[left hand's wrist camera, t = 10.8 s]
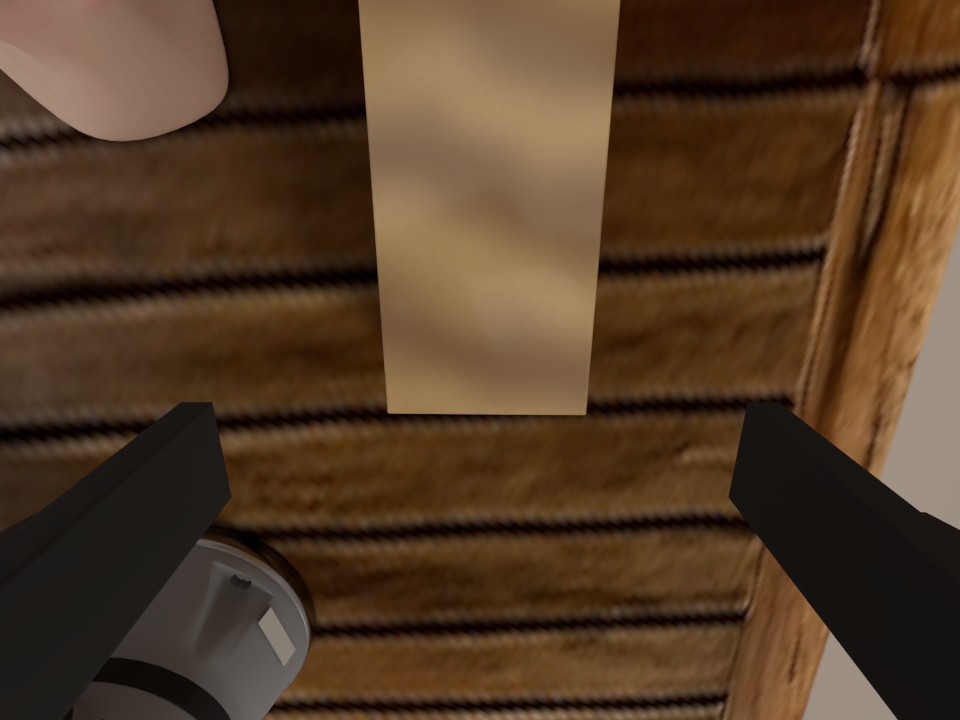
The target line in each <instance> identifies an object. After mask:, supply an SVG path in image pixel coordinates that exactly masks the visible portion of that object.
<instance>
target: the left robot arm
mask: <svg viewBox="0 0 960 720" xmlns="http://www.w3.org/2000/svg"><path fill="white" fill-rule="evenodd" d="M230 498H231V493H230V488H229V483H228V478H227V473H226V468H225V463H224V458H223V453H222V448H221V443H220V438H219V433H218V428H217V423H216V418H215V413H214V408H213V403H212V402H181V403H180V404H178V405H177V406H176V407H175V408H173V409H172V410H171V411H169V412H168V413H167V414H165V415H164V416H163V417H162V418H160V419H159V420H158V421H156V422H155V423H154V424H153V425H151V426H150V427H149V428H147V429H146V430H145V431H144V432H142V433H141V434H140V435H138V436H137V437H136V438H135V439H133V440H132V441H131V442H129V443H128V444H127V445H126V446H124V447H123V448H122V449H120V450H119V451H118V452H117V453H115V454H114V455H113V456H111V457H110V458H109V459H107V460H106V461H105V462H104V463H102V464H101V465H100V466H98V467H97V468H96V469H95V470H93V471H92V472H91V473H89V474H88V475H87V476H86V477H84V478H83V479H82V480H80V481H79V482H78V483H77V484H75V485H74V486H73V487H71V488H70V489H69V490H68V491H66V492H65V493H64V494H62V495H61V496H60V497H59V498H57V499H56V500H55V501H53V502H52V503H51V504H49V505H48V506H47V507H46V508H44V509H43V510H42V511H40V512H39V513H38V514H34V515H33V516H31V517H29V518H27V519H25V520H23V521H21V522H19V523H17V524H15V525H13V526H11V527H9V528H7V529H6V530H4V531H2V532H0V720H262V719H263V717H264V716H265V715H266V713H267V712H268V711H269V709H270V708H271V707H272V705H273V704H274V703H275V701H276V700H277V699H278V697H279V696H280V695H281V693H282V692H283V691H284V690H285V689H286V688H287V687H288V686H289V685H290V683H291V682H292V681H293V680H294V678H295V677H296V676H297V675H298V673H299V672H300V670H301V668H302V666H303V664H304V662H305V659H306V657H307V654H308V651H309V649H310V646H311V643H312V641H313V637H314V634H315V628H316V615H315V609H314V604H313V601H312V598H311V596H310V594H309V592H308V589H307V588H306V586H305V584H304V583H303V581H302V580H301V578H300V577H299V576H298V574H297V573H296V572H295V571H294V570H293V569H292V568H291V566H290V565H289V564H287V563H286V562H285V561H284V560H283V559H282V558H281V557H279V556H278V555H277V554H275V553H274V552H273V551H271V550H270V549H268V548H267V547H265V546H263V545H262V544H260V543H258V542H256V541H254V540H252V539H250V538H247V537H245V536H243V535H240V534H237V533H235V532H231V531H228V530H224V529H220V528H215V527H209V526H210V525H211V523H212V522H213V521H214V519H215V518H216V517H217V516H218V514H219V513H220V512H221V510H222V509H223V508H224V506H225V505H226V504H227V502H228V501H229V500H230ZM729 498H730V500H731V501H732V502H733V504H734V505H735V506H736V508H737V509H738V510H739V512H740V513H741V514H742V516H743V517H744V518H745V519H746V521H747V522H748V523H749V525H750V526H751V527H752V529H753V530H754V531H755V533H756V534H757V535H758V537H759V538H760V539H761V541H762V542H763V543H764V544H765V546H766V547H767V548H768V550H769V551H770V552H771V554H772V555H773V556H774V558H775V559H776V560H777V562H778V563H779V564H780V565H781V567H782V568H783V569H784V571H785V572H786V573H787V575H788V576H789V577H790V579H791V580H792V581H793V583H794V584H795V585H796V587H797V588H798V589H799V590H800V592H801V593H802V594H803V596H804V597H805V598H806V600H807V601H808V602H809V604H810V605H811V606H812V608H813V609H814V610H815V611H816V613H817V614H818V615H819V617H820V618H821V619H822V621H823V622H824V623H825V625H826V626H827V627H828V629H829V630H830V631H831V633H832V634H833V635H834V636H835V638H836V639H837V640H838V642H839V643H840V644H841V646H842V647H843V648H844V650H845V651H846V652H847V654H848V655H849V656H850V657H851V659H852V660H853V661H854V663H855V664H856V665H857V667H858V668H859V669H860V671H861V672H862V673H863V675H864V676H865V677H866V679H867V680H868V681H869V682H870V684H871V685H872V686H873V688H874V689H875V690H876V692H877V693H878V694H879V695H880V697H881V698H882V700H883V701H884V702H885V704H886V705H887V706H888V707H889V709H890V710H891V711H892V713H893V714H894V715H895V717H896V718H897V719H898V720H960V530H959V529H957V528H955V527H953V526H951V525H949V524H947V523H945V522H943V521H941V520H939V519H938V518H936V517H934V516H932V515H930V514H928V513H926V512H920V511H918V510H917V509H916V508H914V507H913V506H912V505H911V504H909V503H908V502H907V501H905V500H904V499H903V498H901V497H900V496H899V495H898V494H896V493H895V492H894V491H892V490H891V489H890V488H889V487H887V486H886V485H885V484H883V483H882V482H881V481H880V480H878V479H877V478H876V477H874V476H873V475H872V474H871V473H869V472H868V471H867V470H865V469H864V468H863V467H862V466H860V465H859V464H858V463H856V462H855V461H854V460H853V459H851V458H850V457H849V456H847V455H846V454H845V453H843V452H842V451H841V450H840V449H838V448H837V447H836V446H834V445H833V444H832V443H831V442H829V441H828V440H827V439H825V438H824V437H823V436H822V435H820V434H819V433H818V432H816V431H815V430H814V429H813V428H811V427H810V426H809V425H807V424H806V423H805V422H804V421H802V420H801V419H800V418H798V417H797V416H796V415H795V414H793V413H792V412H791V411H789V410H788V409H787V408H785V407H784V406H783V405H782V404H780V403H779V402H748V403H747V408H746V413H745V418H744V423H743V428H742V433H741V438H740V443H739V448H738V453H737V458H736V463H735V468H734V473H733V478H732V483H731V488H730V493H729Z"/></svg>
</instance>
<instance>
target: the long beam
mask: <svg viewBox="0 0 960 720" xmlns="http://www.w3.org/2000/svg"><path fill="white" fill-rule="evenodd" d="M358 3H359V17H360V31H361V45H362V59H363V73H364V87H365V101H366V115H367V129H368V143H369V157H370V171H371V185H372V199H373V213H374V227H375V241H376V255H377V269H378V284H379V298H380V312H381V326H382V340H383V354H384V368H385V382H386V396H387V410H388V413H404V414H521V415H586V408H587V396H588V383H589V371H590V359H591V347H592V335H593V323H594V311H595V299H596V287H597V275H598V263H599V251H600V239H601V227H602V215H603V203H604V191H605V179H606V167H607V155H608V143H609V131H610V119H611V107H612V95H613V83H614V70H615V58H616V46H617V34H618V22H619V10H620V0H358Z"/></svg>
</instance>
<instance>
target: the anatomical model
mask: <svg viewBox="0 0 960 720" xmlns="http://www.w3.org/2000/svg"><path fill="white" fill-rule="evenodd" d="M0 69H1V70H3V71H4V72H5V73H6V74H7V75H8V76H9V77H10V78H12V79H13V80H14V81H15V82H16V83H17V84H18V85H19V86H20V87H22V88H23V89H24V90H25V91H26V92H27V93H28V94H30V95H31V96H32V97H33V98H34V99H36V100H37V101H38V102H39V103H40V104H42V105H43V106H44V107H45V108H47V109H48V110H49V111H51V112H52V113H53V114H54V115H56V116H57V117H58V118H60V119H61V120H63V121H64V122H66V123H67V124H69V125H70V126H72V127H74V128H75V129H77V130H79V131H81V132H83V133H85V134H87V135H90V136H93V137H96V138H99V139H105V140H111V141H131V140H141V139H146V138H150V137H155V136H159V135H162V134H165V133H167V132H170V131H173V130H176V129H179V128H181V127H183V126H186V125H188V124H190V123H192V122H195V121H196V120H198V119H200V118H202V117H203V116H205V115H207V114H208V113H210V112H211V111H212V110H214V109H215V108H216V107H217V106H218V105H219V104H220V103H221V101H222V100H223V98H224V97H225V94H226V92H227V88H228V80H229V77H228V65H227V59H226V53H225V48H224V44H223V40H222V35H221V31H220V27H219V23H218V19H217V15H216V11H215V8H214V4H213V1H212V0H0Z"/></svg>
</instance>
